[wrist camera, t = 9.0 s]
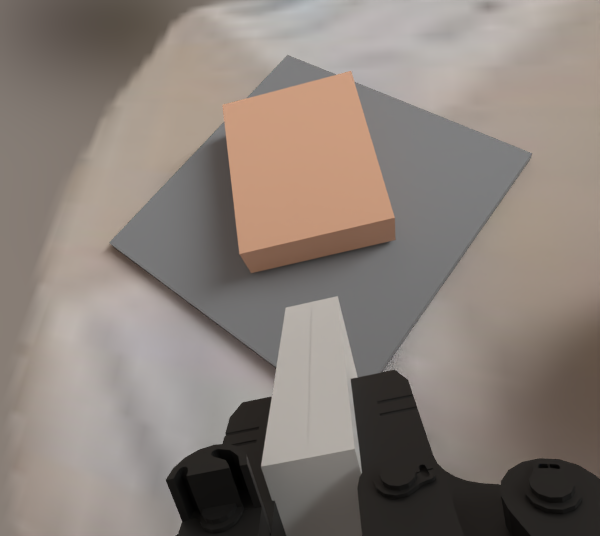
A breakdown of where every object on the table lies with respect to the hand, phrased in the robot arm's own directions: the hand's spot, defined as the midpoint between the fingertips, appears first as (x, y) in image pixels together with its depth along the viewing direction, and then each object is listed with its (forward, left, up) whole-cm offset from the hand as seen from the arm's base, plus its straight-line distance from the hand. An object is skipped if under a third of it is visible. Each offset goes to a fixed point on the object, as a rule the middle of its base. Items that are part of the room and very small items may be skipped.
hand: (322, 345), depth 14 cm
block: (-7, -7, -12) cm, 16 cm away
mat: (-10, -11, -14) cm, 20 cm away
